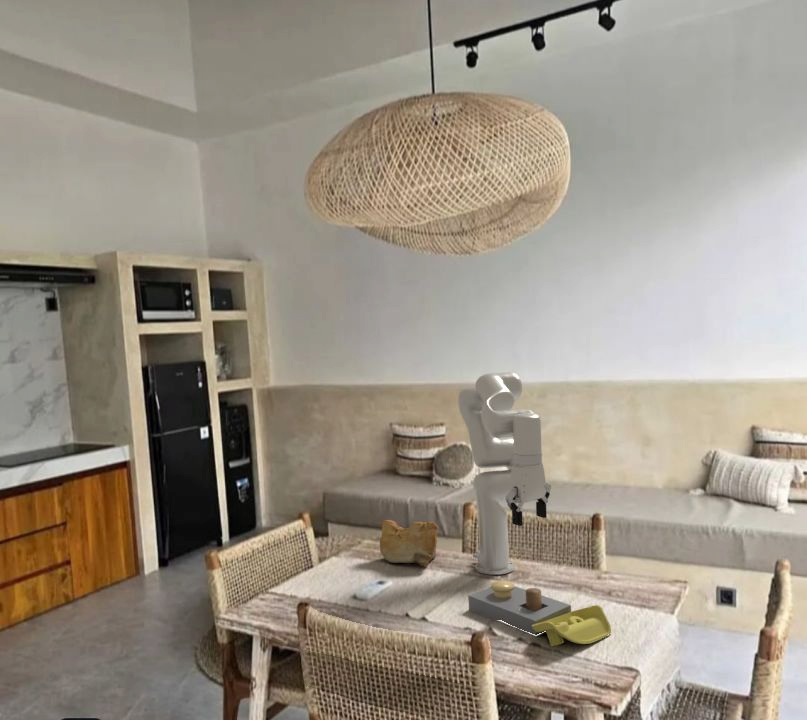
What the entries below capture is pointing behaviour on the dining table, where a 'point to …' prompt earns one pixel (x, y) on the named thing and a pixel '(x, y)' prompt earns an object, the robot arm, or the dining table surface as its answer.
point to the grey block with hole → (514, 606)
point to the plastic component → (576, 626)
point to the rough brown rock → (409, 542)
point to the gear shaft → (533, 599)
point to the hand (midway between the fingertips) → (529, 520)
